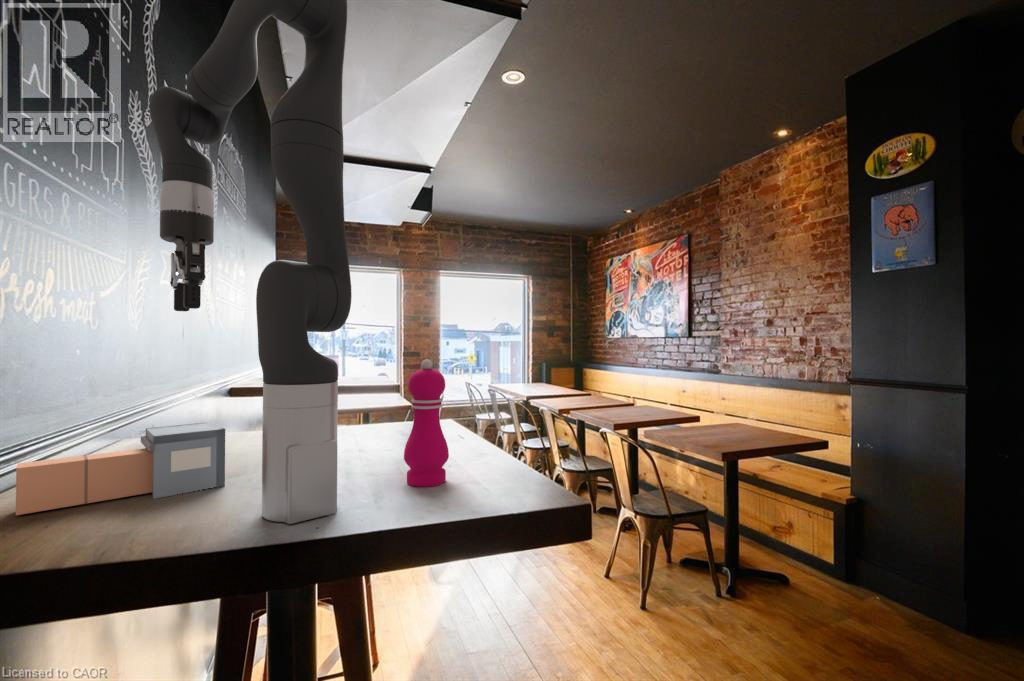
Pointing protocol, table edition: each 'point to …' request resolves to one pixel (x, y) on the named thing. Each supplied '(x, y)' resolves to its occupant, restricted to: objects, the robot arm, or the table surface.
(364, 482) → the table surface
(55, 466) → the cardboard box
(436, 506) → the table surface
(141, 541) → the table surface
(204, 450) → the block
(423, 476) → the pepper mill
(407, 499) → the table surface
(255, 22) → the robot arm
